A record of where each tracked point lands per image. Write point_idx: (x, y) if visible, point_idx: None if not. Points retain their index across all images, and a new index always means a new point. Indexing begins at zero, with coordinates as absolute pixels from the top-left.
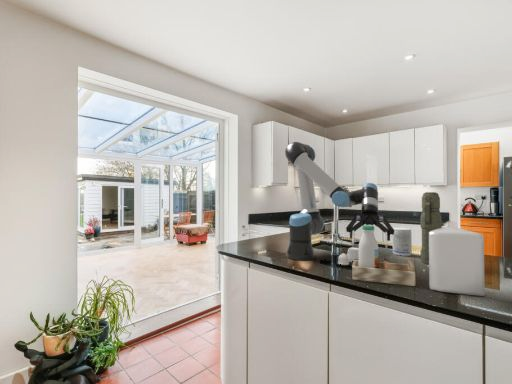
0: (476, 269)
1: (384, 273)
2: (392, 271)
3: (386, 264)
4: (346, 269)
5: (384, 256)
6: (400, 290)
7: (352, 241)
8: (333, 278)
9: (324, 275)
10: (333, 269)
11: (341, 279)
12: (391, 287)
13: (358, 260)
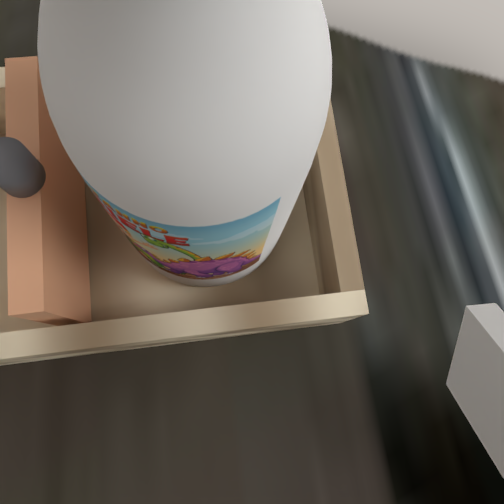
0: None
1: None
2: (2, 71)
3: (28, 64)
4: (405, 352)
5: (19, 144)
6: (3, 15)
7: (492, 313)
8: (417, 70)
9: (492, 107)
10: (496, 297)
11: (365, 71)
12: None
13: (317, 309)
